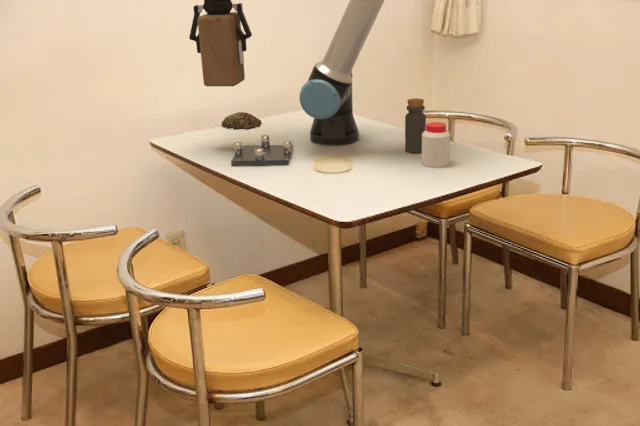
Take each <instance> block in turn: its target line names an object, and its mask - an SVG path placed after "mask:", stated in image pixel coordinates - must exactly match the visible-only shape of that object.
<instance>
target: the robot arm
mask: <svg viewBox="0 0 640 426" xmlns="http://www.w3.org/2000/svg"><path fill="white" fill-rule="evenodd" d="M384 3H385V0H349V1H348V3H347V6H346V8H345V10H344V13H343V15H342V17H341V19H340V21H339V24H338V26H337V28H336V30H335V32H334V35H333V37H332V39H331V41H330V43H329V46H328V48H327V50H326V53H325V55H324V57H323V58H322V60H320V61H318V62H316V63H315V64H314V66H313V68H312V71H311V73H310V75H309V76H308V79H307V82H305V83H304V84H303V85H302V87H301V89H300V92H299V103H300V107H301V108H302V110H303V111H304V113H306V114H307V115H308V116H309V117H311V118H312V119H313V122H312V125H311V128H310V132H309V140H310V141H311V143H314V144H318V145H324V146H327V145H328V146H338V145H347V144H351V143H355V142H357V141H358V140H359V139H360V133H359V132H360V131H359V128H358V125H357V122H356V120H355V117H354V113H353V75H354V74H353V73H352V72H353V71H352V70H353V68H354V66H355V64H356V62H357V59H358V58H359V55H360V54H361V51H362V50H363V47H364V45H365V42H366V41H367V38H368V36H369V35H370V32H371V30H372V28H373V26H374V23H375V22H376V19H377V17H378V15H379V13H380V11H381V9H382V7H383V6H384V5H383V4H384ZM232 9H233V10H234V12H237V13H238V16H239V19H240V24H241V26H242V28H241V29H240V27H239V26H238V25H236V33H237V35H238V36H239V37H240V39H241V40H239V41H238V45H239V57H240V64H243V63H245V58H244V57H245V56H244V52H247V49H248V48H247V39H249V38H251V37H252V36H253V34H252V32H251V28H250V26H249V23H248V21H247V19H246V16H245V13H244V10H243V3H242V2H238V3H233V2H232V0H203V4H200V5H199V4H195V5H194V6H193V19H192V23H191V27H190V33H189V41H190V40H191V41H194V42H195V43H196V52H197V54H201V50H200V40H199V33H198V34H197V31H198V17H200V16H201V13H203V10H204V11H205V14H208V15H219V14H223V15H224V14H229V13H230V12H232ZM242 29H243V30H242ZM200 60H201V59H200ZM201 62H202V60H201Z"/></svg>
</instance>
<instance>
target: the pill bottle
mask: <svg viewBox="0 0 640 426" xmlns="http://www.w3.org/2000/svg"><path fill="white" fill-rule="evenodd" d="M420 154H421V161H420V162H421V163H420V164H421V166H424V167H426V168H435V169H436V168H437V169H438V168H445V167H447V166H449V165H450V164H451V133H450V131H449V130H447V123H444V122H440V121H437V122H436V121H435V122H434V121H433V122H426V130H425V131H424V132H423V133H422V151H421V153H420Z"/></svg>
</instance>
